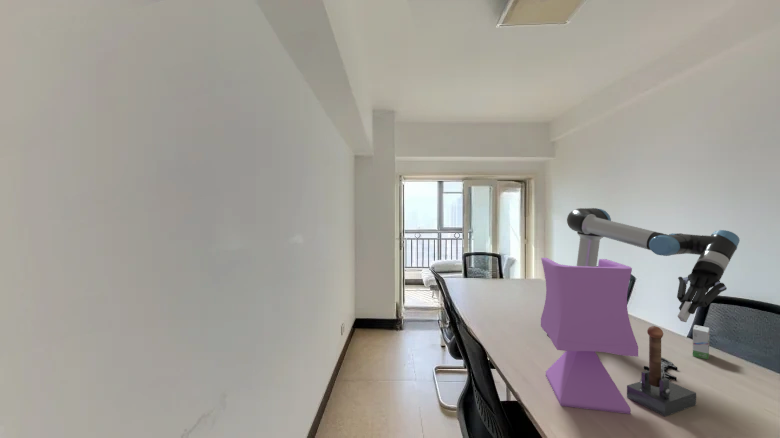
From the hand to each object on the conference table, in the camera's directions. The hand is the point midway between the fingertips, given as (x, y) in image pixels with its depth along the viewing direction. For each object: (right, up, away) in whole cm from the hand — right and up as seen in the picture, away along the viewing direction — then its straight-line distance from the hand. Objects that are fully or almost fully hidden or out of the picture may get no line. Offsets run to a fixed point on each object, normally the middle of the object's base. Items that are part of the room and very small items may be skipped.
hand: (681, 319), depth 108 cm
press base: (-10, -26, -3) cm, 28 cm away
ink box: (+36, -25, +30) cm, 54 cm away
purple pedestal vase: (-32, -26, +2) cm, 42 cm away
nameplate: (+6, -26, +16) cm, 31 cm away
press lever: (-13, -20, -5) cm, 24 cm away
